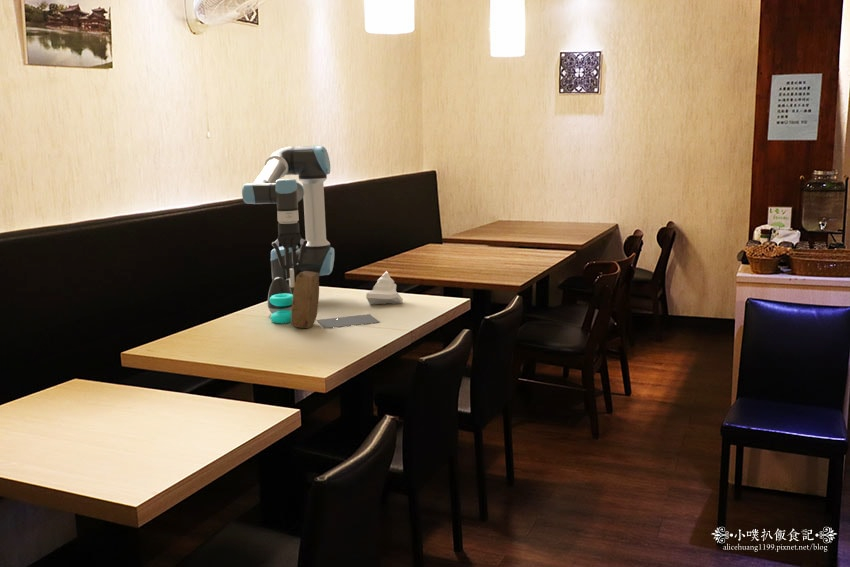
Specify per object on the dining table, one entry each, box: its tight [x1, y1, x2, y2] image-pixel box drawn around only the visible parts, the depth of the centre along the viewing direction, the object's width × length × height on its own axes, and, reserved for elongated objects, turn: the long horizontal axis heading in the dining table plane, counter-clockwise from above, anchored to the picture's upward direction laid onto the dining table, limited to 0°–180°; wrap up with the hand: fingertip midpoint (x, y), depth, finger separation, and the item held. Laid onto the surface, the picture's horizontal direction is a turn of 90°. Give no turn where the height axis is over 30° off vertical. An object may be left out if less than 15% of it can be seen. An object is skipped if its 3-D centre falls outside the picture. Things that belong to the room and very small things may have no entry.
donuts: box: [269, 293, 293, 324], centre depth 301 cm, size 10×10×10 cm
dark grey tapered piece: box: [267, 277, 292, 315], centre depth 311 cm, size 10×10×15 cm
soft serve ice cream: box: [365, 270, 404, 305], centre depth 327 cm, size 12×15×14 cm
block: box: [290, 271, 320, 329], centre depth 290 cm, size 11×8×20 cm
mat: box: [316, 313, 380, 329], centre depth 298 cm, size 14×21×1 cm, turn 110°
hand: (292, 286), depth 288 cm, fingers closed
